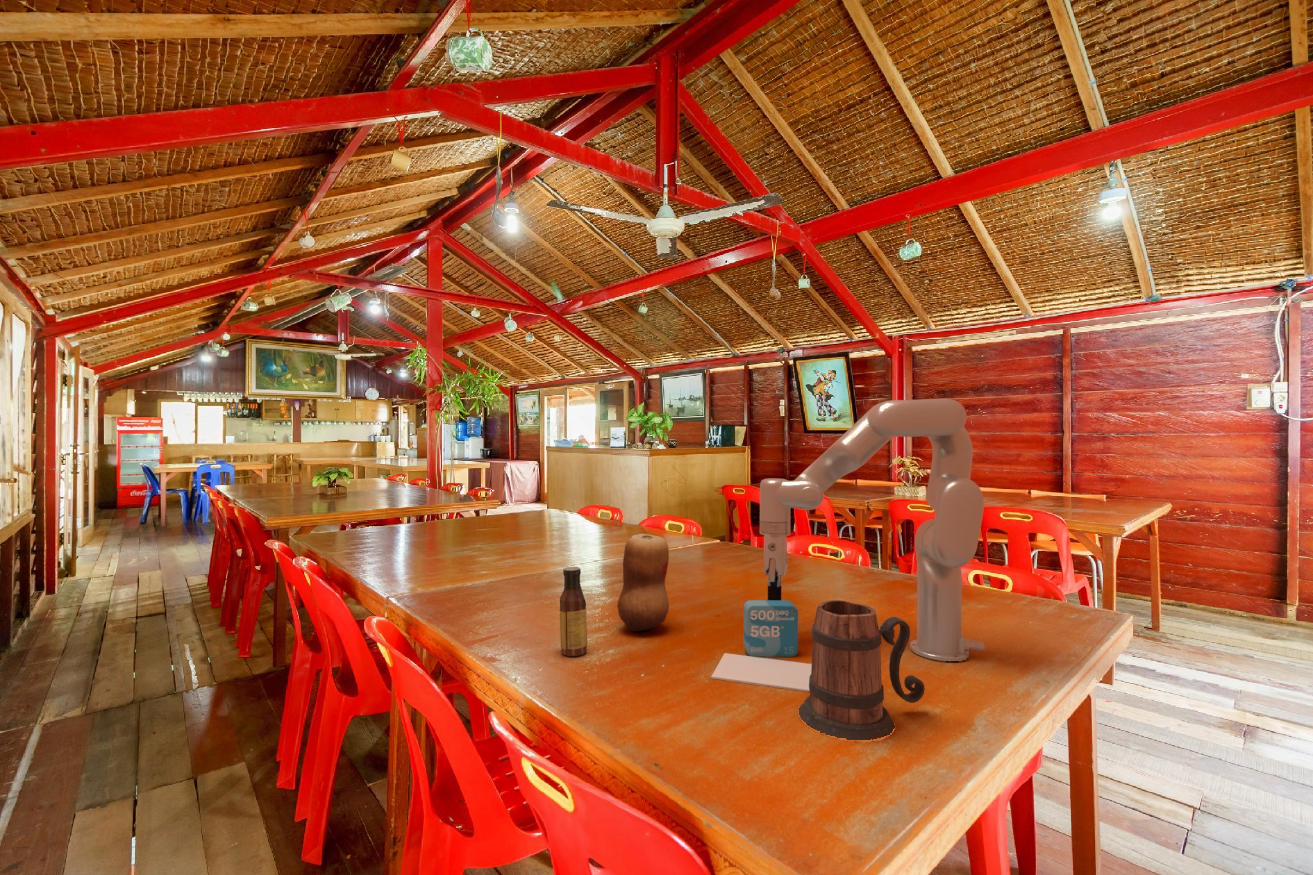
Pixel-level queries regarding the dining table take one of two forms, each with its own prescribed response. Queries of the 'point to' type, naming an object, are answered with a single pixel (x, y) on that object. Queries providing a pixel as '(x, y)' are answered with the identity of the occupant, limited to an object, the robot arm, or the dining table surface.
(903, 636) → the tankard
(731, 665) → the mat
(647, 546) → the butternut squash
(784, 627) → the data package
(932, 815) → the dining table surface
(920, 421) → the robot arm
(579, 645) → the sauce bottle
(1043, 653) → the dining table surface
